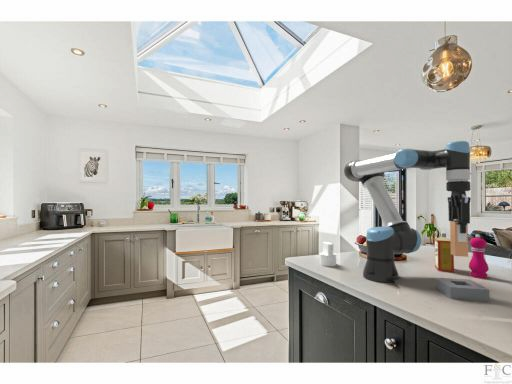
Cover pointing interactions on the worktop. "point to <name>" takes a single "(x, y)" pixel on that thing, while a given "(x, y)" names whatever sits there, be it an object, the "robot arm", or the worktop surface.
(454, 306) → the worktop surface
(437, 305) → the worktop surface
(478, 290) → the grey square socket block
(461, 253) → the plug
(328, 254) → the cylinder with rectangular tab
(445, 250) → the baking soda box
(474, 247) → the pepper mill
